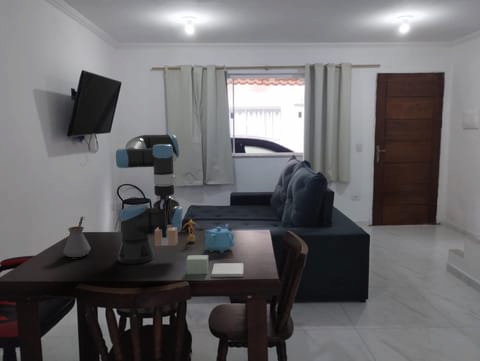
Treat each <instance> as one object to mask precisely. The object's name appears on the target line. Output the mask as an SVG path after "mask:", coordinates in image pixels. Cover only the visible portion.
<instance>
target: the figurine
mask: <svg viewBox="0 0 480 361" xmlns="http://www.w3.org/2000/svg"><path fill="white" fill-rule="evenodd" d="M187 225H188V233H189V234H188V235H187V237H186V238H187V239H186V240H187V241H188V242H189V243H194V242H195V241H196V235H194V233H195V232H194V230H195V227H194V226H193V225H196V226H197V228H199V229H200V225H198V223H196V222H194V221H193V219H191V218H190V219H189V221H188V222H187V223H184V225H182V226H183V227H182V229H184V228H185V226H187ZM191 231H192V233H191Z"/></svg>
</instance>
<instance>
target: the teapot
mask: <svg viewBox="0 0 480 361" xmlns="http://www.w3.org/2000/svg"><path fill="white" fill-rule="evenodd" d="M228 227H229V223H226V224H225V226H224V228H222V227H221V226H217V227H216V228H212V229H207V230H205V231H204V236H205V239H204V243H205V247H206V248H207V249H208V251H209V252H210V253H213V252H215V251H218V252H219V253H220V254H224V253H225V251H227V250H230V248H231V247H234V246H235V242H234V238H235V235H234V233H233V232H232V231H230V230H229V228H228Z"/></svg>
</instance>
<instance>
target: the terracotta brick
mask: <svg viewBox="0 0 480 361" xmlns="http://www.w3.org/2000/svg"><path fill="white" fill-rule="evenodd" d="M167 229H168V237H169V245H162V246H161V229H159V227H157V228H156V230H155V234H154V246H156V247H158V246H159V247H163V246H164V247H165V246H166V247H167V246H173V247H175V246H177V244H178V242H179V238H178V236H179V235H178V233H179V232H178V231H177V227H168V228H167Z"/></svg>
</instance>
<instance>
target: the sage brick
mask: <svg viewBox="0 0 480 361" xmlns="http://www.w3.org/2000/svg"><path fill="white" fill-rule="evenodd" d="M185 261H186V275H208V274H209V273H208V272H209V255H208V254H207V255H206V254H205V255H203V254H202V255H201V254H200V255H199V254H198V255H197V254H196V255H195V254H194V255H193V254H192V255H190V254H189V255H187V258H186V260H185Z"/></svg>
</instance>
